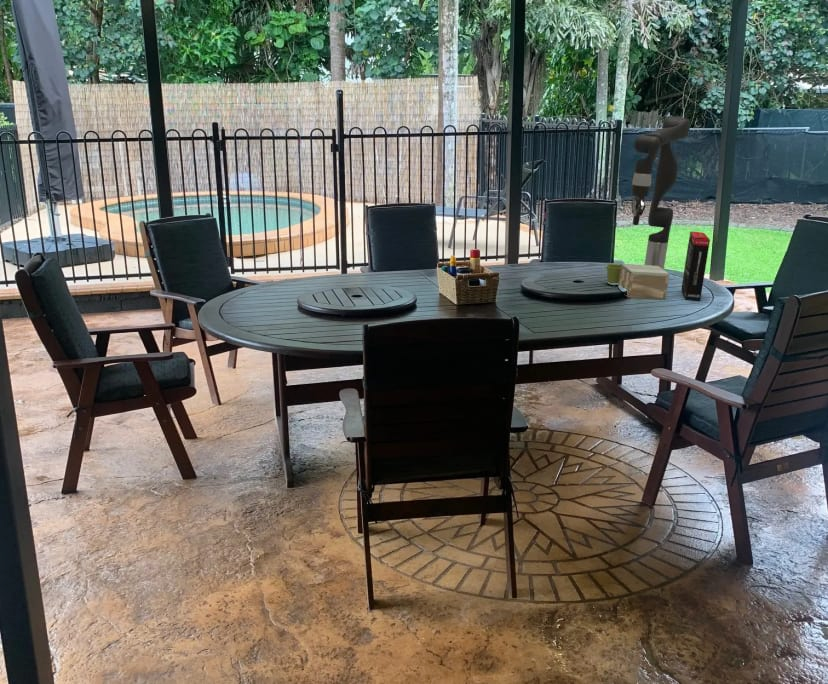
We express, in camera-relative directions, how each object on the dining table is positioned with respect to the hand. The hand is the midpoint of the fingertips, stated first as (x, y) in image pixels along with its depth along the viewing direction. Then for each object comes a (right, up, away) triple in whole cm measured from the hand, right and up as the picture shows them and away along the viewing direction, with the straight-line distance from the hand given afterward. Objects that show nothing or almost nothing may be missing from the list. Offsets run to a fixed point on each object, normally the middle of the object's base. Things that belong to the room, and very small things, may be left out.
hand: (635, 224), depth 334 cm
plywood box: (+3, -30, +3) cm, 30 cm away
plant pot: (-5, -25, +17) cm, 31 cm away
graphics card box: (+25, -31, +5) cm, 40 cm away
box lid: (+4, -20, 0) cm, 20 cm away
